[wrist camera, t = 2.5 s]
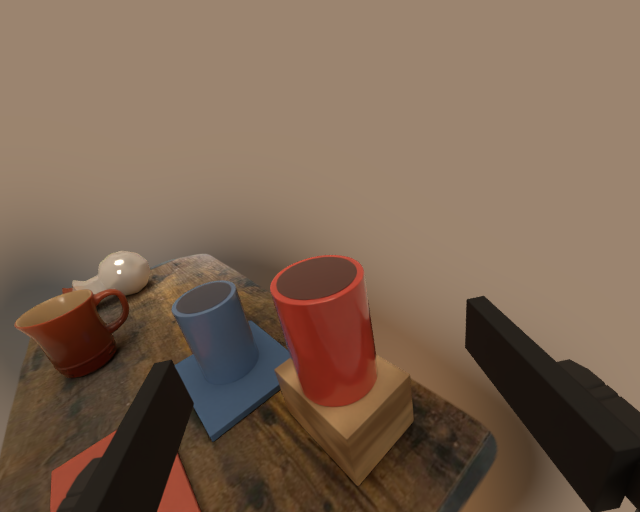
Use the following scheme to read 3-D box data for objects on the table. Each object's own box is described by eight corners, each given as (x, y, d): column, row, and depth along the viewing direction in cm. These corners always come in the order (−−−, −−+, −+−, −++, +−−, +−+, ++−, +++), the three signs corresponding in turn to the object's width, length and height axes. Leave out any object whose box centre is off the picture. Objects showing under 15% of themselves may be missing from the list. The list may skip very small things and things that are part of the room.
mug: (58, 397, 40) (10, 337, 35) (57, 366, 46) (16, 312, 42) (152, 345, 46) (121, 289, 42) (140, 324, 53) (112, 273, 48)
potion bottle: (164, 286, 68) (93, 328, 61) (143, 258, 71) (73, 294, 64) (152, 264, 61) (69, 309, 53) (128, 234, 64) (47, 272, 56)
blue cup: (269, 358, 38) (246, 291, 33) (216, 395, 34) (182, 325, 30) (243, 334, 43) (221, 274, 39) (195, 364, 39) (164, 301, 35)
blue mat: (306, 369, 36) (305, 364, 36) (212, 442, 30) (210, 437, 29) (252, 324, 46) (250, 319, 46) (174, 371, 40) (171, 366, 40)
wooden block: (414, 421, 28) (410, 374, 25) (358, 487, 24) (346, 439, 21) (340, 367, 35) (331, 327, 33) (288, 411, 31) (273, 369, 29)
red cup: (395, 367, 26) (384, 267, 22) (335, 425, 22) (308, 317, 18) (339, 333, 32) (321, 247, 27) (283, 375, 28) (252, 283, 24)
